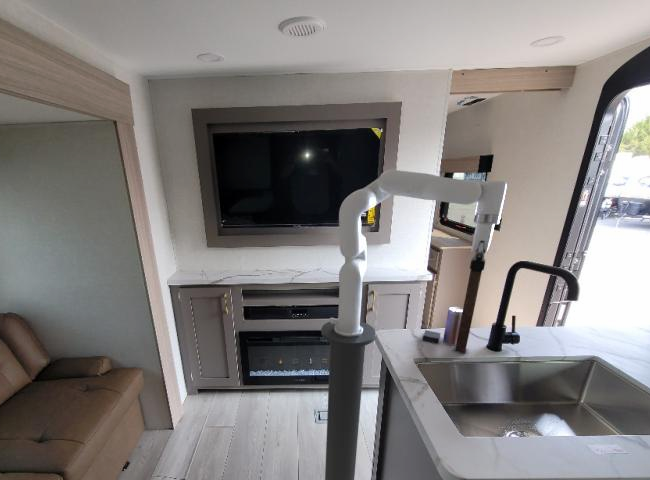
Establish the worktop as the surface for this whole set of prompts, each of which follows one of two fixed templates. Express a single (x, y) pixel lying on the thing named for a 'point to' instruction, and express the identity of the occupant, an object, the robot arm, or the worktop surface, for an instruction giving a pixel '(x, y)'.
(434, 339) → the wide pad
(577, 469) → the worktop surface
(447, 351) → the worktop surface
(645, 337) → the worktop surface
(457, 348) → the walnut post
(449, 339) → the beverage can
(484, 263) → the small pad
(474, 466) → the worktop surface
